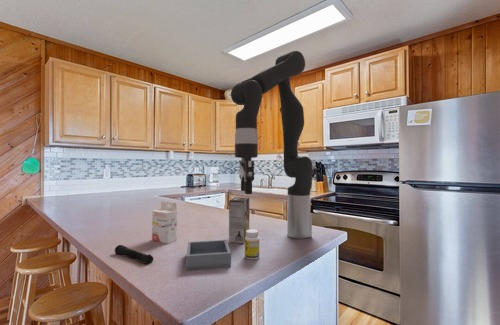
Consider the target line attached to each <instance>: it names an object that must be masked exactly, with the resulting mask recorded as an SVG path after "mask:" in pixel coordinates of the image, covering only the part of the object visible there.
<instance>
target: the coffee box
mask: <svg viewBox="0 0 500 325" xmlns="http://www.w3.org/2000/svg"><path fill="white" fill-rule="evenodd" d="M246 230H250V197H241V196H240V197H239V196H238V197H236V196H235V197H234V198H231V199H229V200H228V242H229V243H238V244H239V243H241V244H245V237H246Z"/></svg>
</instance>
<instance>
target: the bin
mask: <svg viewBox="0 0 500 325" xmlns="http://www.w3.org/2000/svg"><path fill="white" fill-rule="evenodd" d="M185 256H186V262H185V263H186V264H185V267H186V269H185V270H186V271H197V270H208V269H218V268H219V269H220V268H230V267H232V253H231V250H230V246H229V244H228V240H227V239H218V240H217V239H216V240H200V241H188V242H187V248H186V255H185Z"/></svg>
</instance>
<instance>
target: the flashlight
mask: <svg viewBox="0 0 500 325" xmlns="http://www.w3.org/2000/svg"><path fill="white" fill-rule="evenodd" d="M114 253H115V254H116V255H118V256H119V255H120V256H125V257H127V258H130V259H134V260H136V261H139V262H141V263H144V264H145V265H150V264H152V263H153V262H154V257H153V255H152V254H150V253H149V254H146V253H143V252H140V251H137V250H134V249H132V248H129V247H127V246H125V245H122V244H119V245H118V244H117V245H116V246H115V248H114Z"/></svg>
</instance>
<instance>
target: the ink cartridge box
mask: <svg viewBox="0 0 500 325" xmlns="http://www.w3.org/2000/svg"><path fill="white" fill-rule="evenodd" d="M160 207H161V208H159V209H154V210H152V213H151V215H152V220H151V222H152V223H151V224H152V225H151V240H152V241H154V242H159V243H164V244H171V243H173V242H175V241H177V240H178V238H177V237H178V236H177V231H178V230H177V229H178V228H177V227H178V220H177V219H178V217H177V216H178V209H177V203H176V202H172V201H170V202H169V201H160Z"/></svg>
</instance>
